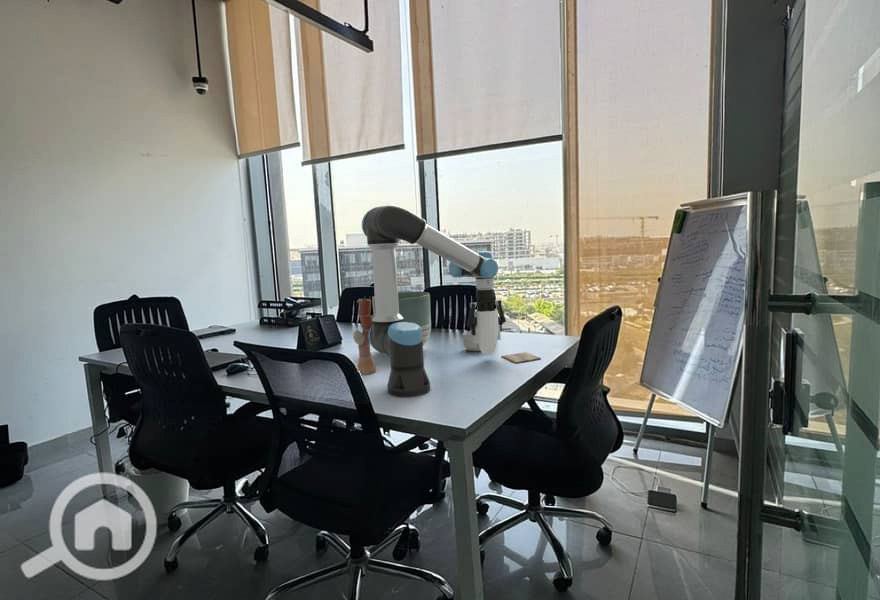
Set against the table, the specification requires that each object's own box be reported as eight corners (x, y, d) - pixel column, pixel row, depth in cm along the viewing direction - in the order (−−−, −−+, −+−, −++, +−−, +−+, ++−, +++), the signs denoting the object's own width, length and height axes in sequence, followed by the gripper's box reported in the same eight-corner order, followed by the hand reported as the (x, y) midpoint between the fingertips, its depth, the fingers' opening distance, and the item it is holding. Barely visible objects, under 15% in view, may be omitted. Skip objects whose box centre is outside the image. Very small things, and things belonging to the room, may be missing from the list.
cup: (493, 364, 197) (491, 312, 194) (471, 361, 203) (468, 311, 200) (504, 358, 205) (502, 308, 203) (482, 356, 211) (480, 307, 208)
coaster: (515, 363, 196) (515, 362, 196) (501, 357, 207) (501, 355, 207) (540, 359, 201) (540, 358, 200) (525, 353, 212) (525, 352, 212)
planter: (408, 342, 246) (405, 290, 242) (444, 350, 226) (441, 293, 222) (365, 353, 228) (360, 297, 224) (399, 362, 208) (395, 300, 205)
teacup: (461, 348, 228) (461, 331, 227) (484, 346, 229) (483, 330, 228) (466, 355, 214) (465, 337, 213) (490, 353, 215) (489, 335, 214)
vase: (356, 375, 191) (350, 301, 187) (355, 371, 198) (349, 299, 194) (383, 372, 193) (378, 298, 189) (381, 368, 200) (375, 296, 196)
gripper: (464, 292, 192) (466, 346, 195) (513, 287, 200) (515, 339, 203) (456, 290, 199) (459, 342, 202) (504, 285, 207) (506, 336, 210)
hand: (487, 341), depth 203 cm, fingers closed on cup, 10 cm apart
